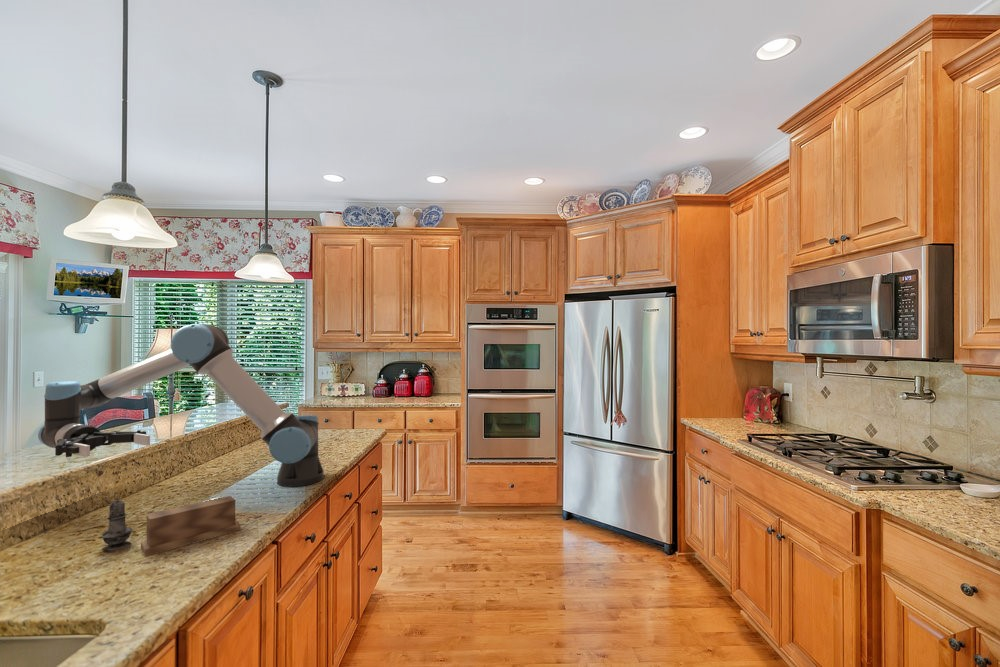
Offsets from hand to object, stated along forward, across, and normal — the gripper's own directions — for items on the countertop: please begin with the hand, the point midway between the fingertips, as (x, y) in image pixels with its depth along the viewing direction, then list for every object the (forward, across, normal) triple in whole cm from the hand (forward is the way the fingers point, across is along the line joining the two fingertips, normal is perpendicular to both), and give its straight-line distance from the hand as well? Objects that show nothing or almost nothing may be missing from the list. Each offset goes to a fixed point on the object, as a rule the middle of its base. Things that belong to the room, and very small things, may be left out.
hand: (119, 445), depth 122 cm
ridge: (+24, -5, -22) cm, 33 cm away
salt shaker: (+12, +6, -22) cm, 26 cm away
